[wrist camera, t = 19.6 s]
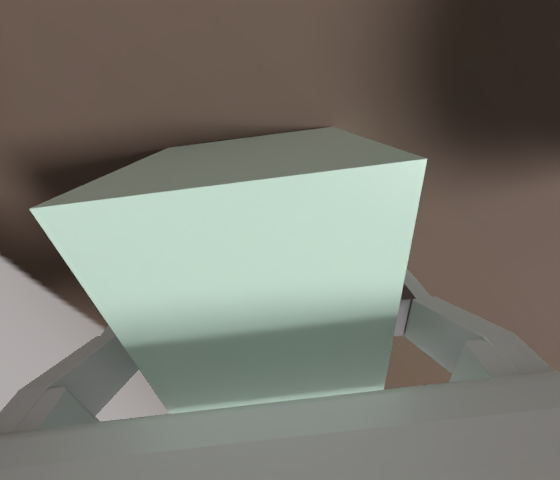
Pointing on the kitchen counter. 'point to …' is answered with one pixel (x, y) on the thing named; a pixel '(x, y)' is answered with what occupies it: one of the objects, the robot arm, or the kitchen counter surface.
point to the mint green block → (248, 263)
